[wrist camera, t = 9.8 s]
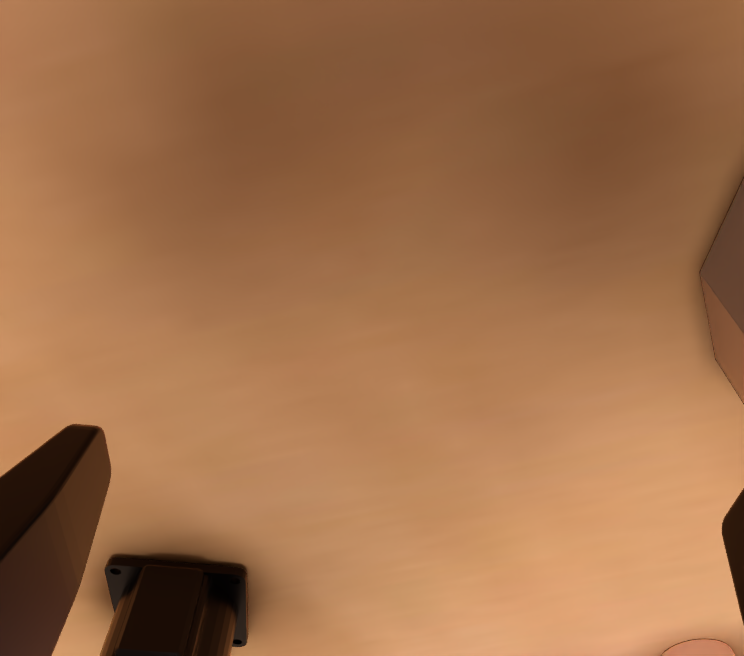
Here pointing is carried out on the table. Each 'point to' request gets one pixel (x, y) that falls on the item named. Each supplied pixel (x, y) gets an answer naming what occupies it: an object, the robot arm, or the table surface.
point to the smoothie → (700, 648)
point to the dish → (727, 293)
